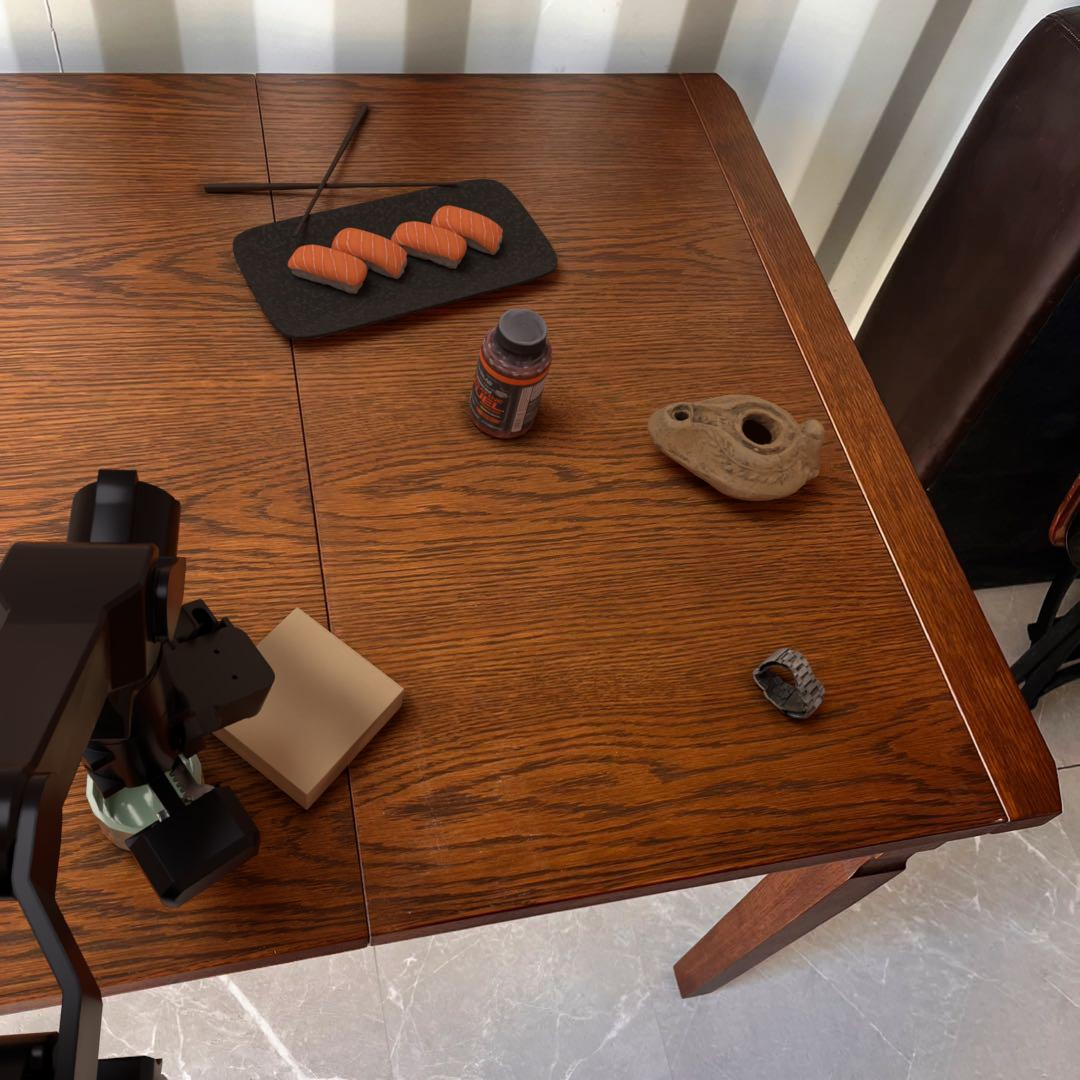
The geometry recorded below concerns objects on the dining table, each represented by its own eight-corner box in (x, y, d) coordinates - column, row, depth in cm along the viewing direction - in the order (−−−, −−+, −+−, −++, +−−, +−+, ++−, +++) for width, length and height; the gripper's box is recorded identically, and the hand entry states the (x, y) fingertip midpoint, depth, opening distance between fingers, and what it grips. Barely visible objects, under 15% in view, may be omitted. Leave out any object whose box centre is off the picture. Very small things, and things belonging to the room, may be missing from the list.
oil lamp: (632, 415, 98) (656, 355, 91) (788, 424, 101) (821, 366, 94) (648, 516, 92) (675, 459, 86) (813, 522, 95) (851, 467, 88)
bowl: (150, 877, 69) (142, 855, 66) (74, 811, 71) (61, 786, 67) (228, 797, 73) (224, 772, 69) (154, 736, 74) (146, 709, 71)
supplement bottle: (453, 412, 95) (469, 320, 85) (498, 378, 98) (518, 286, 88) (504, 453, 93) (526, 364, 84) (548, 417, 96) (574, 328, 87)
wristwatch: (761, 712, 85) (813, 722, 81) (743, 655, 84) (796, 662, 80) (783, 692, 87) (836, 701, 83) (767, 636, 86) (820, 642, 82)
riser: (306, 810, 73) (306, 795, 71) (197, 722, 75) (194, 703, 73) (401, 706, 79) (404, 688, 76) (297, 626, 81) (297, 606, 78)
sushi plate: (282, 360, 94) (282, 329, 91) (164, 143, 106) (160, 109, 103) (566, 283, 106) (574, 253, 103) (430, 95, 118) (433, 64, 115)
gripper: (343, 746, 58) (336, 838, 71) (165, 504, 64) (188, 629, 77) (151, 870, 53) (181, 945, 66) (-23, 594, 59) (35, 712, 72)
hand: (150, 796), depth 70 cm, fingers closed on bowl, 7 cm apart
